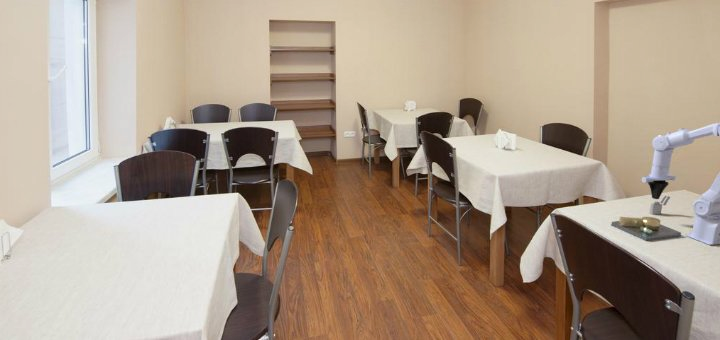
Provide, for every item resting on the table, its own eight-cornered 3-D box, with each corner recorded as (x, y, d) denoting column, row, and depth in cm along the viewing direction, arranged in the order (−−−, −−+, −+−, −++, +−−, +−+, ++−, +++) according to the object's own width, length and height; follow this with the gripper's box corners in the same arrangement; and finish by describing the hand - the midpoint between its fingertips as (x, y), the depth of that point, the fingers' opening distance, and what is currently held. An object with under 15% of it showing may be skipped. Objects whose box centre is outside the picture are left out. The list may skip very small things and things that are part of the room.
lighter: (652, 214, 190) (655, 196, 188) (649, 213, 191) (652, 195, 189) (667, 213, 190) (670, 195, 188) (664, 212, 192) (667, 194, 190)
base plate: (680, 236, 167) (681, 228, 166) (645, 240, 163) (647, 232, 162) (643, 221, 182) (644, 214, 181) (611, 225, 178) (612, 217, 177)
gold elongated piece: (655, 224, 173) (656, 217, 172) (661, 230, 168) (663, 222, 167) (617, 222, 176) (618, 214, 175) (622, 227, 170) (623, 220, 170)
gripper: (666, 162, 183) (660, 194, 186) (637, 164, 179) (632, 197, 182) (682, 166, 176) (676, 199, 179) (652, 168, 172) (647, 202, 176)
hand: (655, 198), depth 180 cm, fingers closed
